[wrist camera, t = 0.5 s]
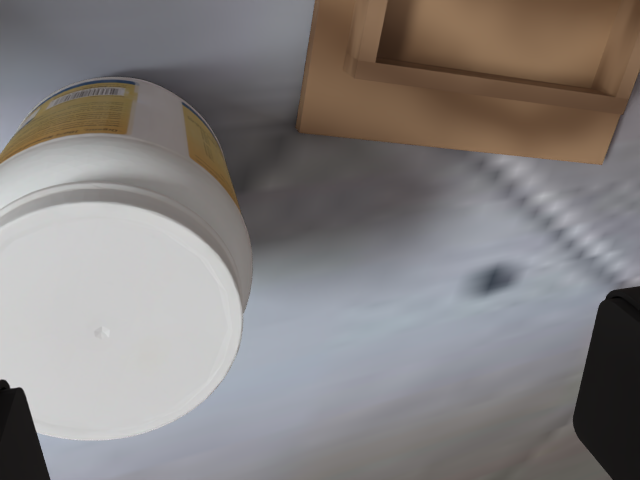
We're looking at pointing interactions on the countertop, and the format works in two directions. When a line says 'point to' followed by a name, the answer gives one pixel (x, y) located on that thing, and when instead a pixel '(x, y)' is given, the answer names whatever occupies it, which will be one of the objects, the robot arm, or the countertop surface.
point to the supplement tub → (118, 260)
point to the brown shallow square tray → (473, 74)
